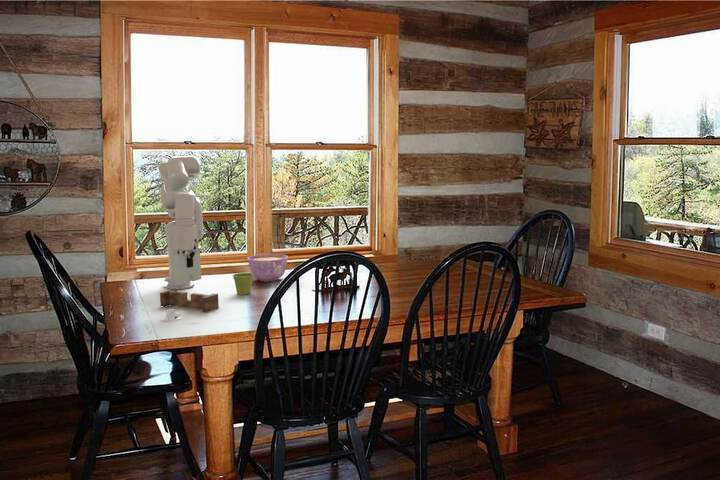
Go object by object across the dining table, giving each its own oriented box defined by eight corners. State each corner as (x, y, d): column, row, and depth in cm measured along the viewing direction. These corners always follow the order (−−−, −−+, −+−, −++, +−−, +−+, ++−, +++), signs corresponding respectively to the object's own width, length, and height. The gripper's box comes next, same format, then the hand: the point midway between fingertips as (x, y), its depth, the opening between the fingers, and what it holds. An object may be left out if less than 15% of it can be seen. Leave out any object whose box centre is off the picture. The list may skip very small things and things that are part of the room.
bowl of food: (286, 284, 333) (285, 260, 332) (244, 284, 334) (243, 260, 332) (290, 276, 353) (290, 253, 352) (251, 276, 354) (250, 254, 352)
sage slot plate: (174, 284, 281) (172, 255, 280) (197, 278, 294) (195, 250, 292) (178, 285, 280) (177, 255, 279) (201, 279, 293) (199, 250, 291)
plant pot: (249, 296, 308) (249, 277, 307) (230, 295, 310) (229, 276, 309) (257, 291, 318) (256, 273, 316) (237, 291, 319) (237, 272, 318)
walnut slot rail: (160, 306, 291) (159, 292, 290) (173, 302, 298) (172, 289, 297) (206, 312, 280) (205, 297, 279) (218, 308, 287) (218, 293, 286)
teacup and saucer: (175, 316, 276) (174, 306, 276) (187, 319, 271) (186, 308, 271) (156, 320, 270) (155, 310, 269) (168, 323, 265) (167, 313, 264)
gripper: (163, 222, 284) (166, 267, 286) (194, 224, 277) (196, 269, 279) (176, 221, 291) (178, 264, 293) (206, 222, 283) (208, 266, 286)
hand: (187, 266), depth 286 cm, fingers closed on sage slot plate, 2 cm apart
